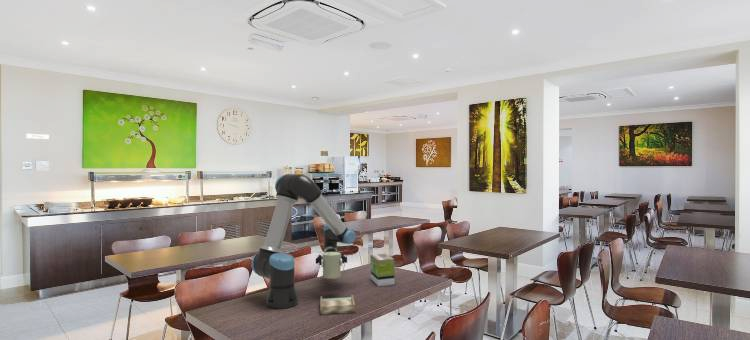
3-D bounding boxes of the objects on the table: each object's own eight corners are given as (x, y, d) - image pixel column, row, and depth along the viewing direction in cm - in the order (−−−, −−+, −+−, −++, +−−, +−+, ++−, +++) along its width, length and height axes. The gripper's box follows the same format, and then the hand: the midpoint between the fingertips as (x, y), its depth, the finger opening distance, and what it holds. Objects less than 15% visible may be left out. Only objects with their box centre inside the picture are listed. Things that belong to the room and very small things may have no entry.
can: (318, 277, 208) (318, 253, 208) (329, 273, 216) (329, 250, 216) (333, 279, 203) (333, 255, 203) (344, 275, 211) (344, 251, 211)
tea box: (370, 279, 240) (369, 254, 240) (386, 277, 243) (386, 252, 243) (377, 286, 226) (377, 259, 225) (395, 284, 229) (394, 258, 228)
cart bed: (320, 314, 183) (320, 306, 183) (320, 303, 199) (320, 295, 199) (355, 312, 185) (355, 304, 185) (352, 301, 201) (352, 294, 201)
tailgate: (320, 303, 198) (320, 301, 198) (320, 300, 203) (320, 298, 203) (352, 301, 200) (352, 299, 200) (352, 298, 205) (352, 296, 205)
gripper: (350, 260, 229) (353, 270, 206) (311, 262, 226) (310, 272, 204) (350, 247, 229) (353, 255, 206) (311, 248, 226) (309, 257, 204)
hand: (331, 263), depth 205 cm, fingers closed on can, 9 cm apart
